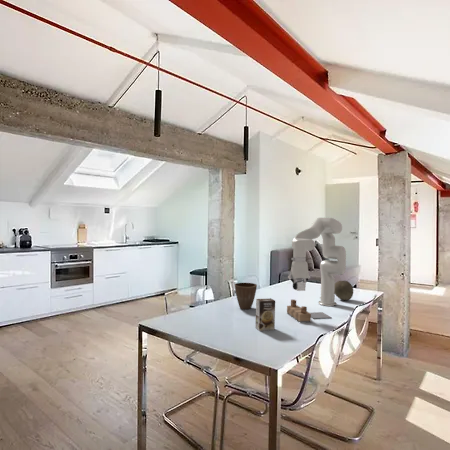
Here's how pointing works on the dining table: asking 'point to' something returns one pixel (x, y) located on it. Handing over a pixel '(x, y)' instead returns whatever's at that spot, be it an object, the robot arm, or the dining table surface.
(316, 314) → the rubber mat
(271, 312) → the coffee box
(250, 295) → the plant pot
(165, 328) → the dining table surface
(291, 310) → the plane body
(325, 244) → the robot arm
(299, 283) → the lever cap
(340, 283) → the cantaloupe
